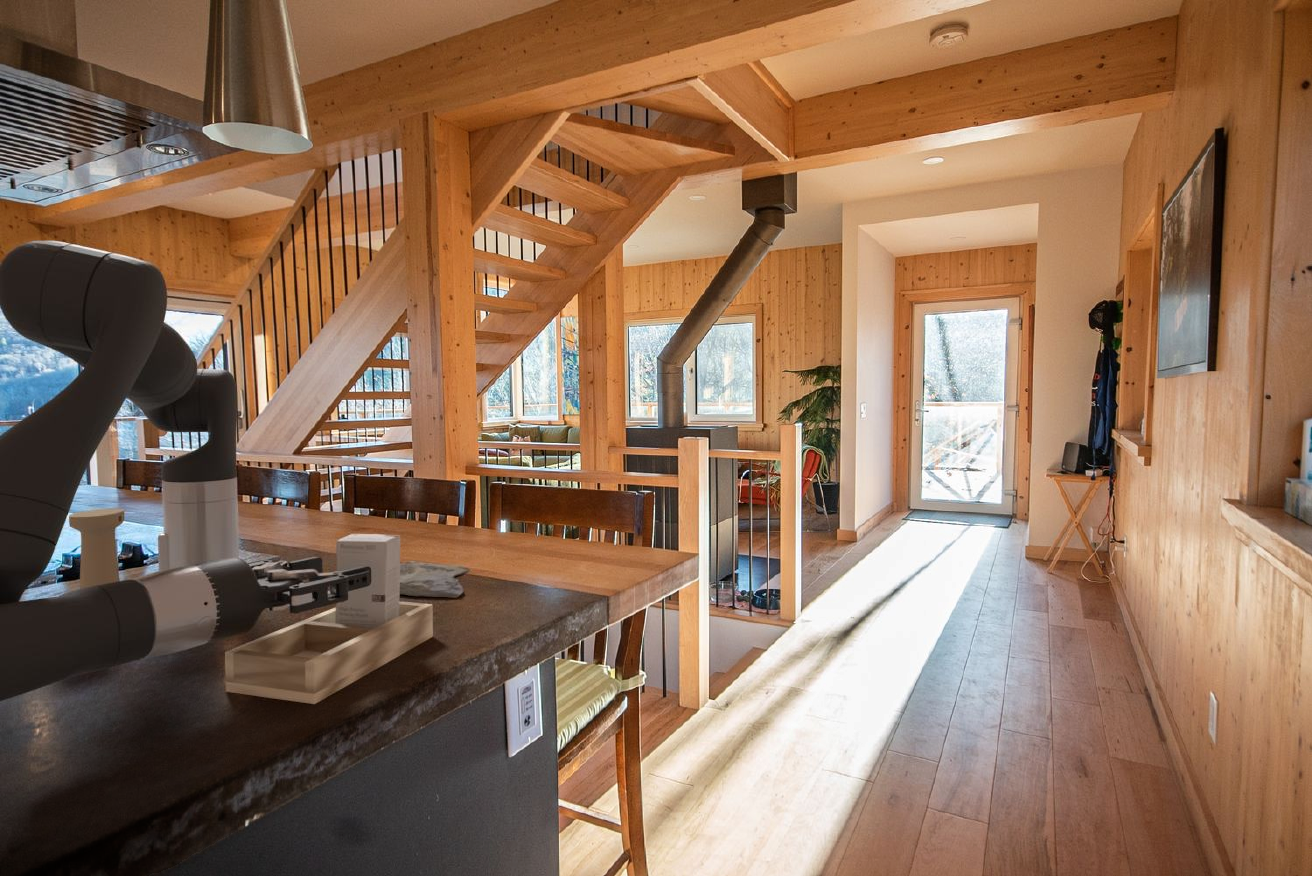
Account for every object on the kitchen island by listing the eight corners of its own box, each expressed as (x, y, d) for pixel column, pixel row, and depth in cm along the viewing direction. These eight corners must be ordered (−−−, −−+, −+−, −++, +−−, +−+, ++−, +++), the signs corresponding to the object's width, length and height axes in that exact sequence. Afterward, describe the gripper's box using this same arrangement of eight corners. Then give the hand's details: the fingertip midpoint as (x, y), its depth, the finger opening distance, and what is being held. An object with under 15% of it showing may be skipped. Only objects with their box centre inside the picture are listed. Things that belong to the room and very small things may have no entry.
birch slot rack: (314, 704, 67) (313, 663, 67) (226, 691, 70) (224, 652, 70) (432, 636, 87) (432, 604, 86) (359, 628, 89) (359, 597, 89)
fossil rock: (400, 572, 121) (400, 558, 120) (487, 573, 121) (487, 559, 121) (357, 601, 103) (357, 585, 103) (459, 602, 103) (459, 586, 103)
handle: (63, 643, 83) (58, 517, 82) (94, 626, 90) (89, 509, 89) (110, 640, 84) (105, 516, 83) (137, 623, 91) (133, 508, 90)
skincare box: (333, 645, 80) (331, 540, 80) (352, 632, 85) (350, 532, 84) (386, 646, 80) (385, 541, 79) (402, 633, 85) (401, 533, 84)
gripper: (233, 576, 62) (386, 544, 76) (150, 557, 69) (304, 531, 83) (235, 659, 62) (387, 612, 76) (152, 632, 69) (305, 594, 83)
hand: (344, 570), depth 80 cm, fingers open, 8 cm apart
